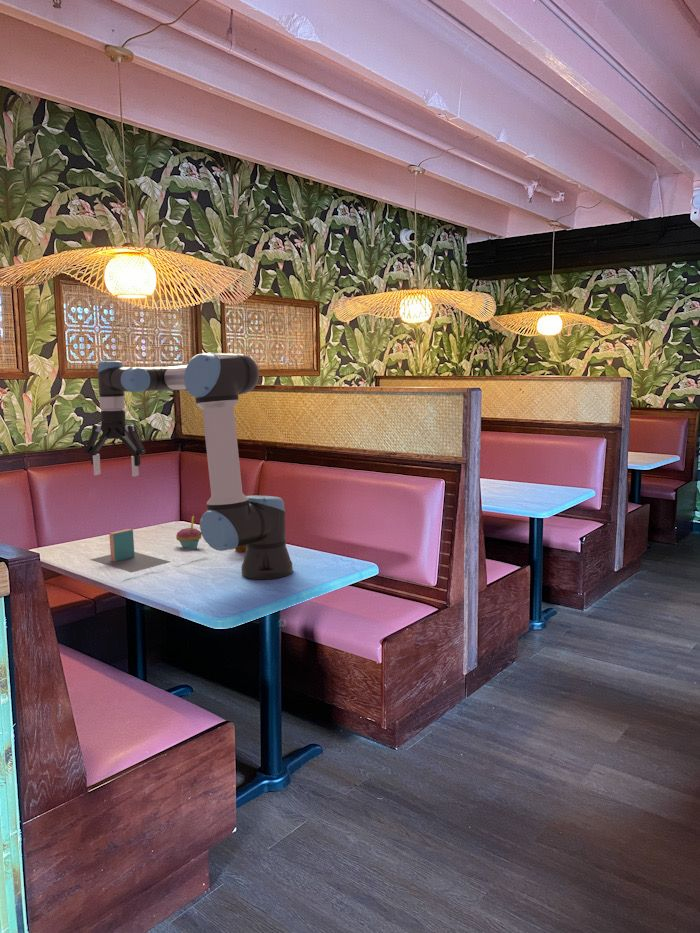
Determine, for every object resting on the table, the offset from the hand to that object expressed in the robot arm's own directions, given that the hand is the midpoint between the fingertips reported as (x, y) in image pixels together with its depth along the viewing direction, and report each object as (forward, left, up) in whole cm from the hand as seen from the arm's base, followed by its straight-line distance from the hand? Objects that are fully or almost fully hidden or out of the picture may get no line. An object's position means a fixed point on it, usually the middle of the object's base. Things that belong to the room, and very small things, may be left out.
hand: (116, 475), depth 223 cm
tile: (-6, +3, -26) cm, 27 cm away
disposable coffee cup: (-27, -30, -27) cm, 49 cm away
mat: (-10, +3, -27) cm, 29 cm away
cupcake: (-10, -20, -27) cm, 35 cm away
